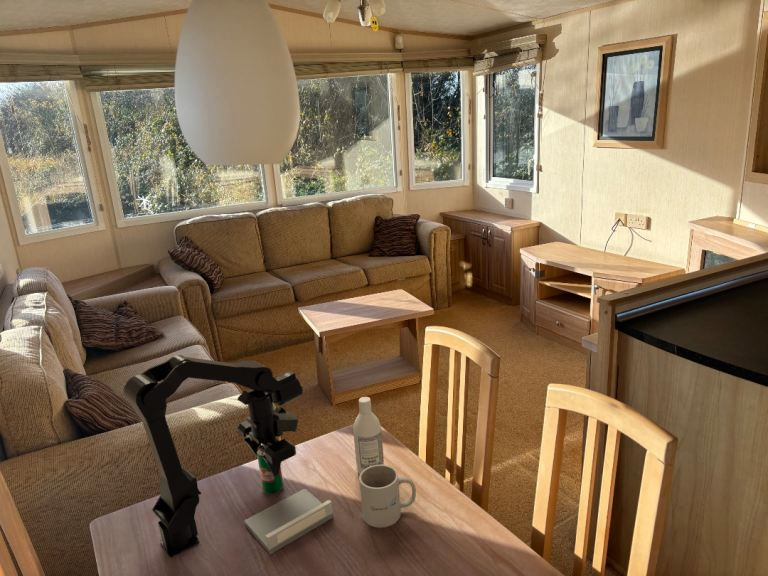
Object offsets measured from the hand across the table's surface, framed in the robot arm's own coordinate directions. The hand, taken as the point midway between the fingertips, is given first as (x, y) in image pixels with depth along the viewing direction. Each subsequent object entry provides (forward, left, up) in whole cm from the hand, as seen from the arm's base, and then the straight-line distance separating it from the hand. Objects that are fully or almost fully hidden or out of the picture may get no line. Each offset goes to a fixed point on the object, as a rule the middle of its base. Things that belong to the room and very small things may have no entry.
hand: (270, 469), depth 135 cm
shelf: (-3, -13, -6) cm, 14 cm away
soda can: (0, 0, -6) cm, 6 cm away
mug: (+15, -27, -6) cm, 31 cm away
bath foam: (+22, -11, -6) cm, 25 cm away
